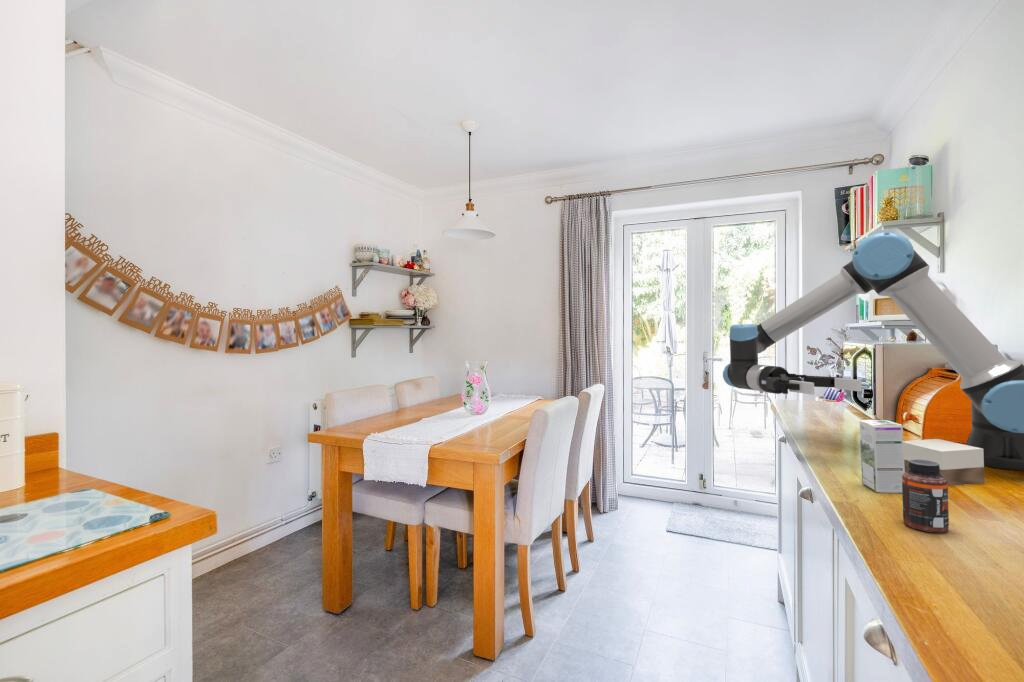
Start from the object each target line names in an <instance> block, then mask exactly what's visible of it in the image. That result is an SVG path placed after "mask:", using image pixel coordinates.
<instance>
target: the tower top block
mask: <svg viewBox="0 0 1024 682" xmlns="http://www.w3.org/2000/svg"><path fill="white" fill-rule="evenodd" d="M903 446H904V459H905V460H908V461H909V460H927V461H933V462H936V463H938V464H939V467H940V470H949V469H963V468H977V467H984V468H985V465H984V452H983V449H982V448H978V447H973V446H968V445H966V444H962V443H958V442H953V441H949V440H944V439H939V438H931V439H930V438H929V439H915V440H903Z"/></svg>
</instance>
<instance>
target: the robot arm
mask: <svg viewBox="0 0 1024 682" xmlns="http://www.w3.org/2000/svg"><path fill="white" fill-rule="evenodd" d="M930 267H931V266H930V265H929V264H928V263H927V262H926V260H925V259H924V258H923V257H922V256H920V254H919V253H918V252H917V251H916V250H915V249H914V245H913V243H912V242H911V241H910V240H909V239H908V238H907V237H906V236H904V235H902V234H899V233H895V232H889V231H883V232H877V233H875V234H874V233H873V234H871V235H869V236H867V237H866V238H864V239H862V240H861V241H860V242H859V244H858V245H857V246H855V249H854V251H853V253H852V258H851V261H849V262H848V263H847V264H845V265H843V266H842V267H841V269H840V272H839V273H838V274H836V275H835V276H833V277H831V278H830V279H828V280H826V281H825V282H824V283H822V284H821V285H818V286H817V287H816V288H814V289H813V290H811V291H809V292H807V293H806V294H805V295H803V296H802V297H800V298H798V299H797V300H795V301H793V302H792V303H790V304H788V305H787V306H785V307H784V308H783V309H781V310H779V311H778V312H776V313H774V314H773V315H771V316H770V317H768V318H767V319H765V320H763V321H762V322H760V323H759V324H757V325H756V324H754V323H752V324H751V323H747V324H746V323H744V324H741V323H740V324H732V325H730V328H729V336H728V337H729V352H730V353H729V354H730V355H729V356H730V357H729V358H730V361H729V363H728V364H727V365H725V366H724V369H723V371H722V378H723V380H724V382H725V383H726V384H727V385H728V386H730V387H734V388H737V389H743V390H749V391H755V392H756V391H758V392H759V394H763V393H764V392H765V393H767V394H773V395H774V394H775V395H776V394H777V395H779V394H784V395H788V394H789V392H790V393H791V392H792V393H800V394H804V395H805V394H806V395H811V396H812V395H815V388H833V389H836V390H845V391H854V392H862V389H863V388H862V382H863V381H862V380H861V379H856V378H855V379H854V378H844V377H842V376H840V374H835V375H836V376H826V375H825V376H821V375H807V374H796V373H789V371H788V370H787V369H786V368H784V367H782V366H778V365H777V366H776V365H766V364H759V354H760V353H763V352H765V351H767V349H768V348H769V347H771V346H773V345H774V344H775V343H777V342H780V341H781V340H782V339H784V338H785V337H788V336H789V335H791V334H792V333H794V332H796V331H797V330H800V329H802V328H803V327H804V326H806V325H808V324H809V323H811V322H813V321H815V320H816V319H818V318H820V317H822V316H823V315H824V314H826V313H828V312H831V310H834V309H835V308H837V307H838V306H840V305H841V304H843V303H845V302H847V301H849V300H850V299H851V298H853V297H855V296H857V295H859V294H861V295H865V294H868V293H869V292H871V291H872V290H873V291H874V292H875V293H876V294H877V295H878V296H880V297H888V298H890V299H891V300H892V301H893V302H894V304H895V305H896V306H897V307H899V309H900V310H901V312H902V313H903V314H904V315H905V316H906V318H908V319H909V320H910V321H911V322H912V324H913V325H914V326H915V327H916V328H917V329H918V331H919V332H921V334H922V335H923V336H924V337H925V338H926V340H928V342H929V343H930V344H931V345H932V346H933V347H934V348H935V349H936V351H937V352H938V354H940V356H941V357H942V358H943V359H944V360H945V361H946V362H947V363H948V364H949V366H951V368H952V369H953V370H954V371H955V373H957V374H958V375H959V377H960V378H961V381H960V386H959V388H960V389H961V391H963V393H964V394H965V395H966V397H968V399H969V400H970V402H971V403H970V404H971V430H970V433H969V435H968V437H967V439H966V440H967V441H966V443H965V445H968V446H973V447H978V448H982V449H983V452H984V467H985V466H986V467H991V468H996V469H1005V470H1012V471H1013V470H1014V471H1024V364H1023V363H1022V361H1016V360H1012V359H1008V358H1006V357H1005V356H1004V355H1003V354H1002V353H1001V352H1000V351H999V350H998V349H997V348H996V347H995V346H994V344H992V342H991V341H990V340H989V339H988V338H987V337H986V336H985V335H984V334H983V333H982V332H981V330H979V328H977V326H976V325H975V324H974V323H973V322H972V321H971V320H970V319H969V318H968V317H967V315H965V314H964V312H963V311H961V309H960V308H959V307H958V306H957V305H956V304H955V303H954V302H953V301H952V300H951V299H950V298H949V297H948V296H947V294H946V293H945V292H943V290H942V289H941V288H940V287H939V285H938V284H936V282H935V281H934V280H933V279H932V278H930V276H929V270H930Z"/></svg>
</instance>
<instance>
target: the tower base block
mask: <svg viewBox="0 0 1024 682" xmlns="http://www.w3.org/2000/svg"><path fill="white" fill-rule="evenodd" d="M904 465H905V472H907V471H909V470H910V468H909V467H908V466H909V461H908V460H905V459H904ZM939 473H940V474H941V475H942V476H943V477H944V478H945V479H946V480H947V482H948V487H949V486H950V485H952V486H965V485H964V484H970V485H982V484H983V485H984V484H985V466H984V467H977V468H963V469H949V470H940V472H939Z"/></svg>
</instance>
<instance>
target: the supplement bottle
mask: <svg viewBox="0 0 1024 682" xmlns="http://www.w3.org/2000/svg"><path fill="white" fill-rule="evenodd" d="M908 467H909V468H910V470H909V471H907V472H905V473H903V475H902V493H901V494H902V495H901V496H902V497H901V498H902V518H903V522H904V524H905V525H906V526H908V527H910V528H912V529H914V530H919V531H921V532H927V533H933V534H941V533H946V532H947V531H949V529H950V528H949V527H950V521H949V520H950V518H949V517H950V516H949V486H948V482H947V480H946V479H945V478H944V477H943V476H942V475H941V474H940V473H939V472H940V467H939V464H938V463H936V462H933V461H927V460H909V466H908Z"/></svg>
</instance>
